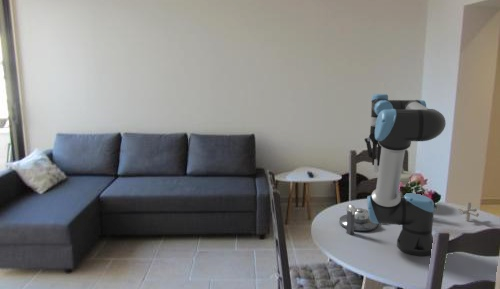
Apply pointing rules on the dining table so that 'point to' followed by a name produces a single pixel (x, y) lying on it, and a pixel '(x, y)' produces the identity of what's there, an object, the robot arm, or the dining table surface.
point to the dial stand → (350, 219)
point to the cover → (361, 216)
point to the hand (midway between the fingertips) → (376, 171)
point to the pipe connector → (468, 211)
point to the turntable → (358, 227)
